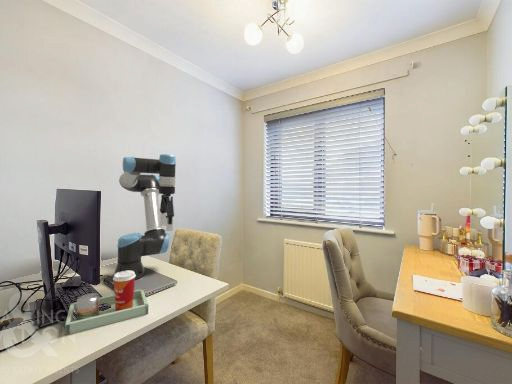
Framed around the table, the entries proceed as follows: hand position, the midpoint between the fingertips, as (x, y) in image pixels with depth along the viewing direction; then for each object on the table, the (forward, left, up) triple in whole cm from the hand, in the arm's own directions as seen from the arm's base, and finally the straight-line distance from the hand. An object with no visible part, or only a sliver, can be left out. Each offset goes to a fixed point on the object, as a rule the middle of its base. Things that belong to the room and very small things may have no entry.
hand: (166, 228), depth 116 cm
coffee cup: (+14, -19, -30) cm, 38 cm away
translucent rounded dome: (+14, -31, -30) cm, 45 cm away
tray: (+14, -24, -31) cm, 41 cm away
